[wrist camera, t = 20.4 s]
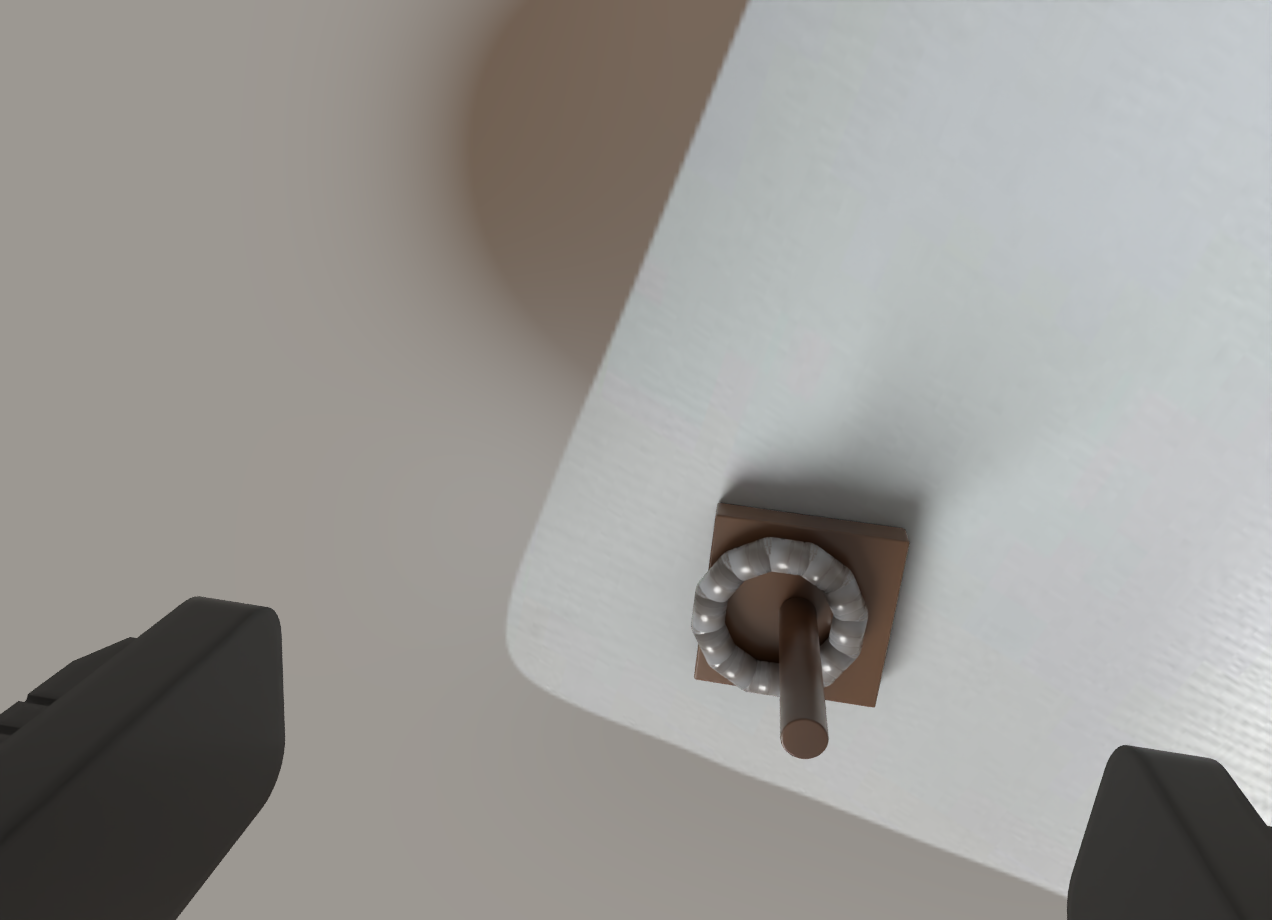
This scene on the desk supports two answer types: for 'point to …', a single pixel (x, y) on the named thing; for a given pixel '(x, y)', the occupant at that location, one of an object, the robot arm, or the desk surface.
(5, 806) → the robot arm
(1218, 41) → the desk surface
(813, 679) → the stand
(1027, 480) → the desk surface
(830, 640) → the grey beaded ring
